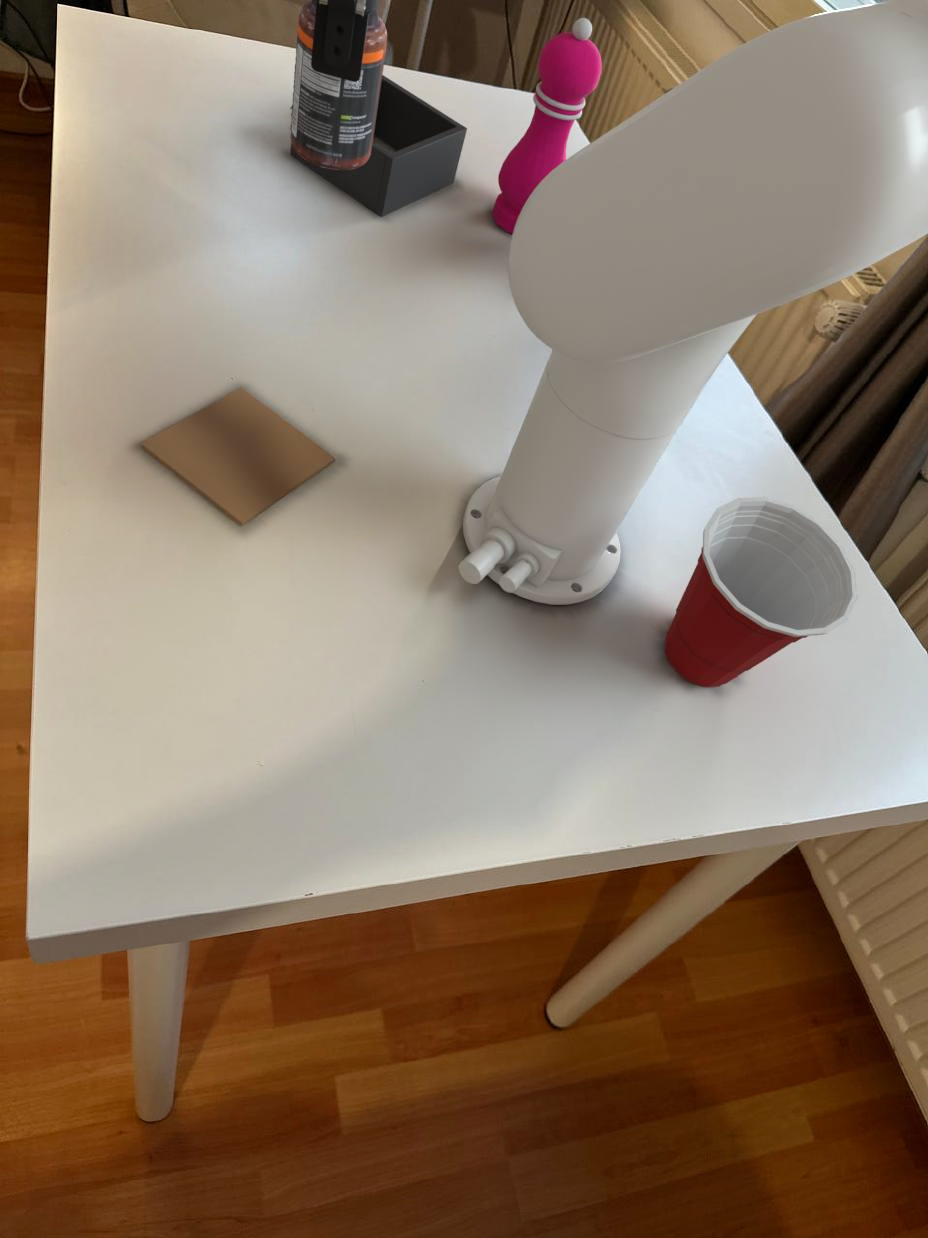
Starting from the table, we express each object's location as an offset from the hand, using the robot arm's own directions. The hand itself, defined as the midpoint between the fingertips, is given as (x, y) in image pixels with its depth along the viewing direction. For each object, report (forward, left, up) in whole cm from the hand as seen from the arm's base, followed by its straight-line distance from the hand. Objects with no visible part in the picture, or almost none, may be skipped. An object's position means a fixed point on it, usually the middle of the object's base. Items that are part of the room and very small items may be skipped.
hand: (342, 50), depth 59 cm
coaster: (-16, -8, -22) cm, 28 cm away
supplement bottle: (0, 0, -7) cm, 7 cm away
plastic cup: (-5, -44, -22) cm, 49 cm away
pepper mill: (+32, -2, -22) cm, 39 cm away
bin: (+25, +13, -22) cm, 36 cm away
